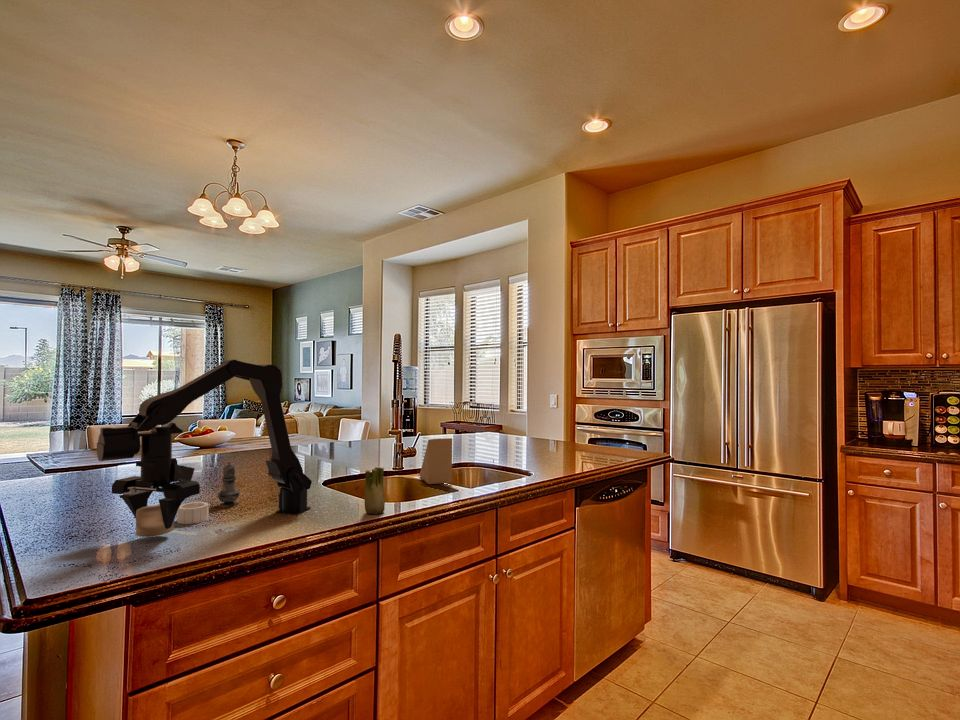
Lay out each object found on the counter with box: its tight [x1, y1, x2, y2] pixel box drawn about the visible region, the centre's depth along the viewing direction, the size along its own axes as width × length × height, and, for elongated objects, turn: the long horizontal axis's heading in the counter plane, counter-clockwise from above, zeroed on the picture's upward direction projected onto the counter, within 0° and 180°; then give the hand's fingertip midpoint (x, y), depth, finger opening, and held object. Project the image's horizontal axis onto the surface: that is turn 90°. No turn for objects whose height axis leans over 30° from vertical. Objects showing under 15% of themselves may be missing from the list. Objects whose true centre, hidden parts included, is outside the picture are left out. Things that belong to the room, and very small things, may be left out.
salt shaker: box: [216, 461, 241, 508], centre depth 140 cm, size 6×6×12 cm
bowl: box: [176, 501, 210, 525], centre depth 125 cm, size 7×7×4 cm
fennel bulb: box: [364, 466, 386, 515], centre depth 133 cm, size 6×5×12 cm
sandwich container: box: [418, 437, 453, 485], centre depth 176 cm, size 9×15×15 cm, turn 19°
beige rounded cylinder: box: [135, 504, 175, 538], centre depth 110 cm, size 7×7×5 cm
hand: (155, 526), depth 110 cm, fingers closed on beige rounded cylinder, 7 cm apart
